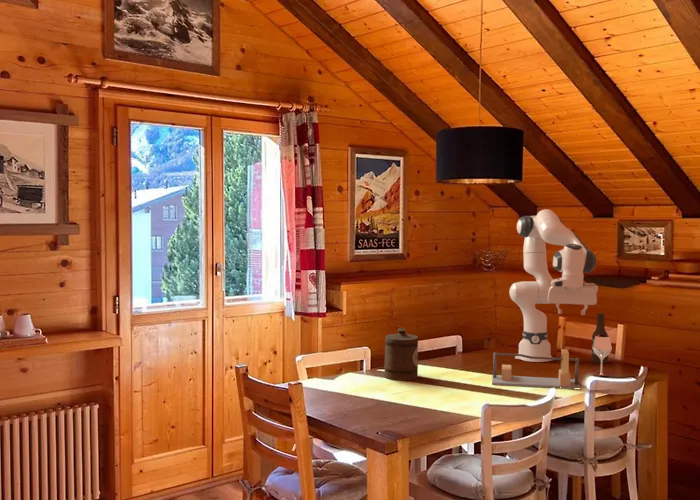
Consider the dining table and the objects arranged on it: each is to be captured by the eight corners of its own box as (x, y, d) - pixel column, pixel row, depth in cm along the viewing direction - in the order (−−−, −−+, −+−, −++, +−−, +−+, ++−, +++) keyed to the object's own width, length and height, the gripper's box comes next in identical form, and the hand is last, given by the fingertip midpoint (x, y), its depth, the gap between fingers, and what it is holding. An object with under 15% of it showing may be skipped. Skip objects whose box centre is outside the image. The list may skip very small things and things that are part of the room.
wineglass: (590, 376, 319) (591, 336, 318) (593, 372, 326) (594, 333, 325) (609, 378, 315) (610, 338, 314) (612, 374, 322) (613, 335, 321)
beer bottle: (587, 361, 350) (589, 312, 349) (599, 359, 353) (601, 312, 352) (599, 364, 343) (600, 315, 342) (611, 363, 346) (612, 314, 345)
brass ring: (560, 369, 306) (561, 348, 305) (566, 369, 305) (567, 349, 305) (562, 373, 298) (562, 352, 297) (568, 374, 297) (568, 352, 297)
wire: (495, 354, 312) (495, 352, 312) (576, 358, 305) (576, 356, 304) (495, 357, 307) (495, 355, 307) (577, 360, 300) (577, 359, 300)
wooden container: (422, 379, 312) (423, 329, 311) (390, 381, 308) (391, 331, 307) (410, 371, 326) (411, 324, 325) (380, 373, 322) (380, 325, 321)
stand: (492, 377, 317) (493, 350, 316) (576, 381, 309) (577, 354, 309) (492, 384, 303) (492, 357, 302) (580, 389, 296) (580, 361, 295)
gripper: (597, 282, 305) (595, 313, 306) (547, 280, 309) (546, 311, 310) (598, 284, 298) (597, 316, 300) (548, 282, 303) (547, 314, 304)
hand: (571, 314), depth 305 cm, fingers open, 8 cm apart
